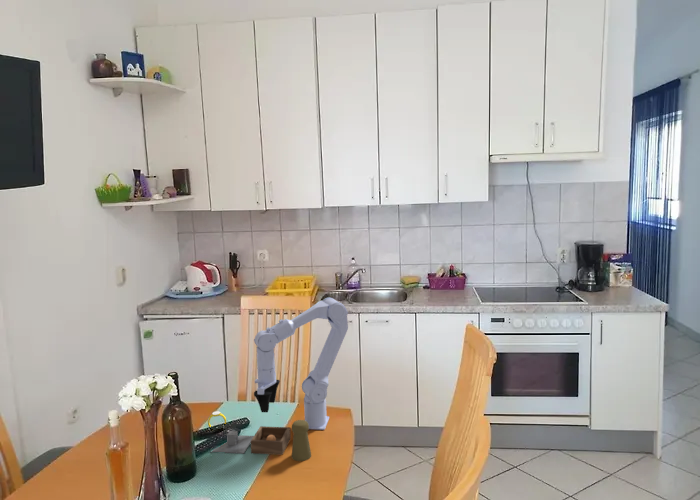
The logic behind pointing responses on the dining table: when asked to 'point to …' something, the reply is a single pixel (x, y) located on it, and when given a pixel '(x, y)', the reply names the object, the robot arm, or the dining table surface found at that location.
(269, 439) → the ball
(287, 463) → the dining table surface
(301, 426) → the olive tapered shaker
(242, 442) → the lid
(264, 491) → the dining table surface
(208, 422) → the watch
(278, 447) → the box
